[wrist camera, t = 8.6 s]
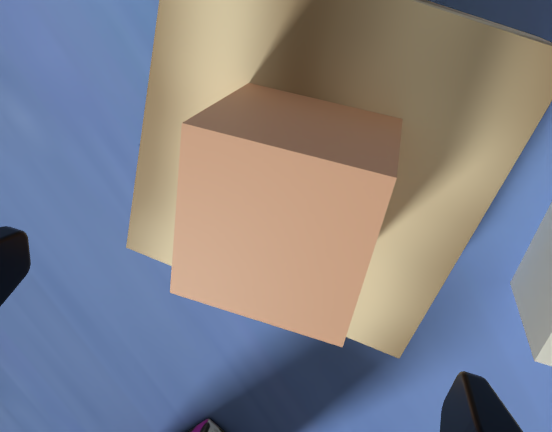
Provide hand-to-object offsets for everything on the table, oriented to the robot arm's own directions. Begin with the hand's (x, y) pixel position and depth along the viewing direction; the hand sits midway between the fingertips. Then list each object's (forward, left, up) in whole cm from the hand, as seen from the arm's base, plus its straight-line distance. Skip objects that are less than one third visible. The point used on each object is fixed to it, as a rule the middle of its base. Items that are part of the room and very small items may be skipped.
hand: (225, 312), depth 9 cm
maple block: (0, 0, -13) cm, 13 cm away
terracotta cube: (0, 0, -8) cm, 8 cm away
